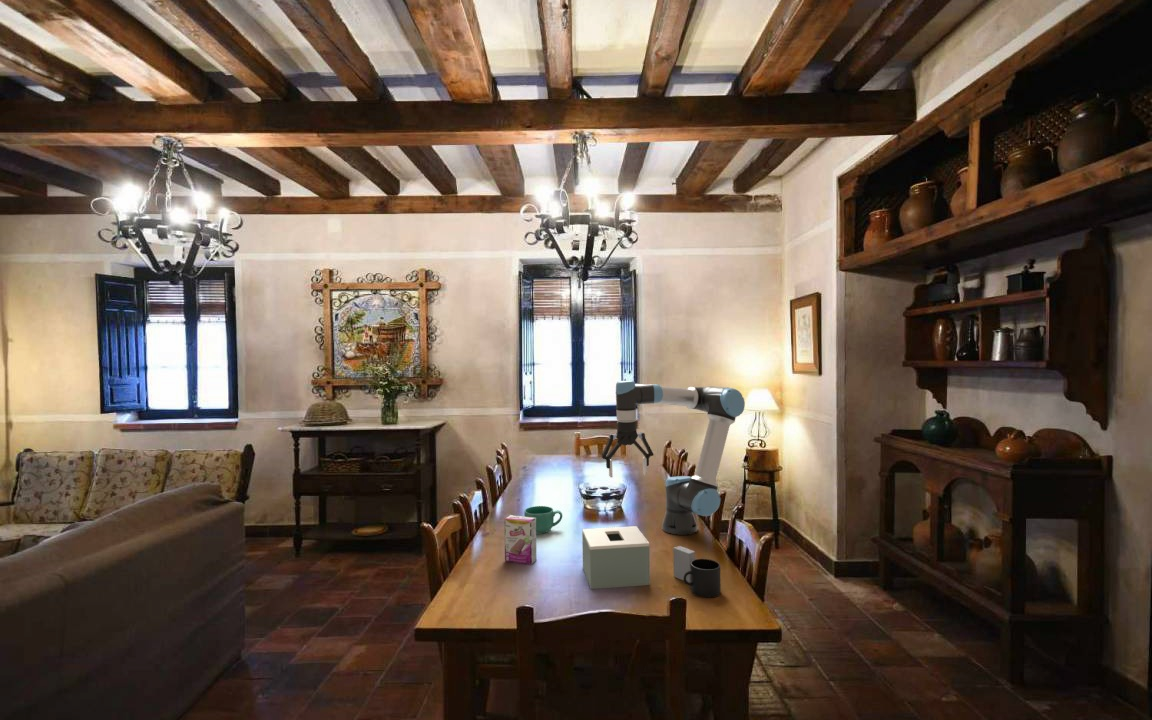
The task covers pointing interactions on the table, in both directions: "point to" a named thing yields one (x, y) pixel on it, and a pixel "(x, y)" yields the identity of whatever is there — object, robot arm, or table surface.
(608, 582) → the pale green white box
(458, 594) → the table surface
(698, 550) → the table surface
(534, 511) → the mug
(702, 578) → the mug
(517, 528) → the candy bar box
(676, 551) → the grey rectangular block
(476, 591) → the table surface
